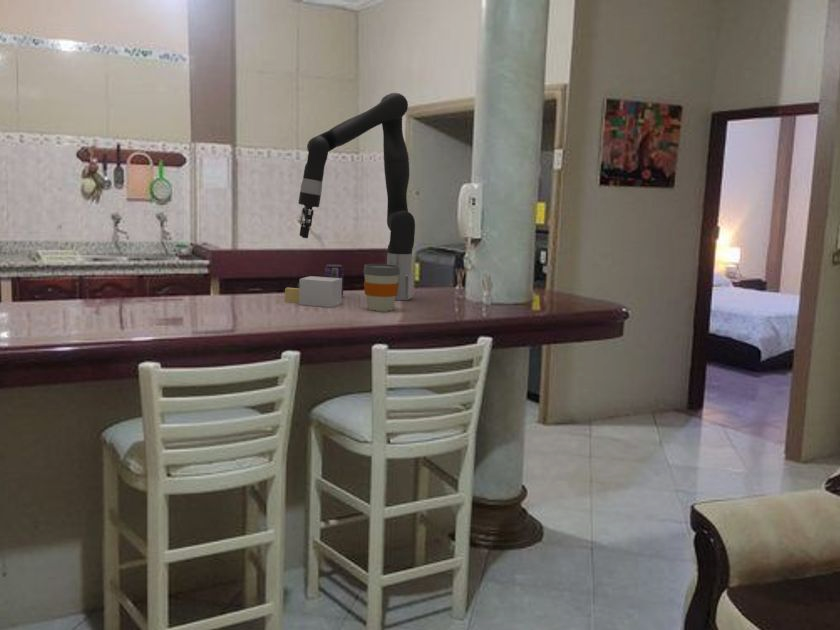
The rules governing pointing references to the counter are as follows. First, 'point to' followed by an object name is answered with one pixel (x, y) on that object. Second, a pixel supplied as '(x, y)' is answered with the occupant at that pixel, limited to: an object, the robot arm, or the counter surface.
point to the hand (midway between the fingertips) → (303, 237)
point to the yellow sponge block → (292, 295)
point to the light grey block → (320, 291)
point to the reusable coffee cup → (381, 286)
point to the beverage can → (334, 272)
